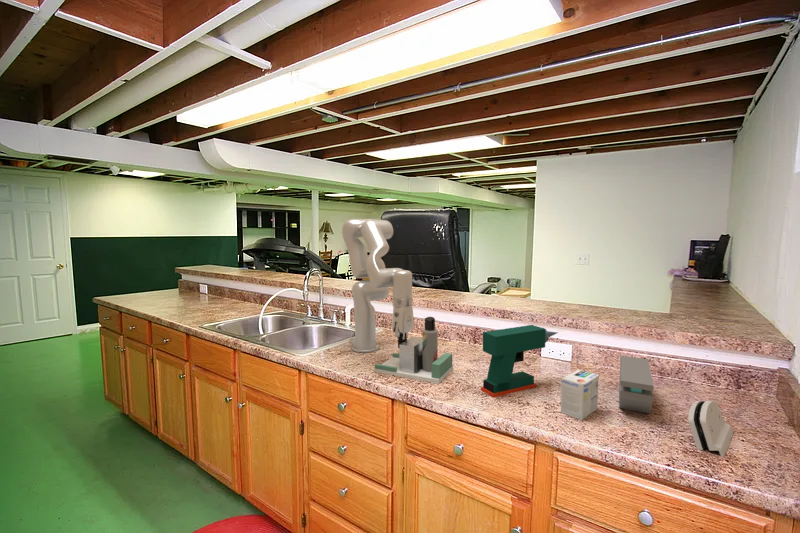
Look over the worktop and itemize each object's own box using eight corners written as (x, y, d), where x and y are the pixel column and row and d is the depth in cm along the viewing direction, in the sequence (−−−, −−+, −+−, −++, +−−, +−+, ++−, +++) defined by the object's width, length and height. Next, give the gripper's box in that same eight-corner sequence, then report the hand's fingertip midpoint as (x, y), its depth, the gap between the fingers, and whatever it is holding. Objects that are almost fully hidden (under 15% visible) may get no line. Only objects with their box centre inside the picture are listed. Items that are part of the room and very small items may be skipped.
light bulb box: (575, 401, 119) (576, 368, 118) (598, 409, 114) (599, 374, 113) (559, 412, 112) (560, 377, 111) (582, 421, 107) (584, 384, 106)
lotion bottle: (439, 367, 146) (439, 316, 144) (435, 372, 141) (434, 319, 139) (425, 365, 148) (425, 315, 146) (420, 370, 143) (420, 318, 141)
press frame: (374, 372, 146) (374, 355, 145) (394, 359, 160) (393, 344, 160) (438, 383, 134) (438, 366, 134) (453, 369, 149) (453, 352, 148)
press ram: (399, 370, 143) (399, 344, 142) (412, 360, 154) (412, 336, 153) (416, 373, 140) (416, 346, 139) (428, 363, 151) (428, 338, 150)
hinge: (723, 457, 89) (707, 414, 91) (699, 456, 93) (684, 414, 94) (733, 432, 101) (719, 393, 102) (711, 431, 104) (698, 394, 106)
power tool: (549, 373, 143) (550, 321, 141) (564, 380, 137) (565, 325, 135) (479, 389, 129) (480, 331, 127) (493, 397, 123) (494, 337, 121)
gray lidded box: (619, 386, 131) (620, 355, 130) (646, 390, 127) (647, 359, 126) (619, 417, 109) (620, 380, 108) (651, 423, 105) (653, 385, 104)
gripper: (402, 306, 139) (402, 355, 140) (419, 299, 152) (419, 344, 154) (384, 304, 142) (384, 352, 144) (402, 298, 155) (402, 342, 157)
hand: (402, 348), depth 149 cm, fingers closed
